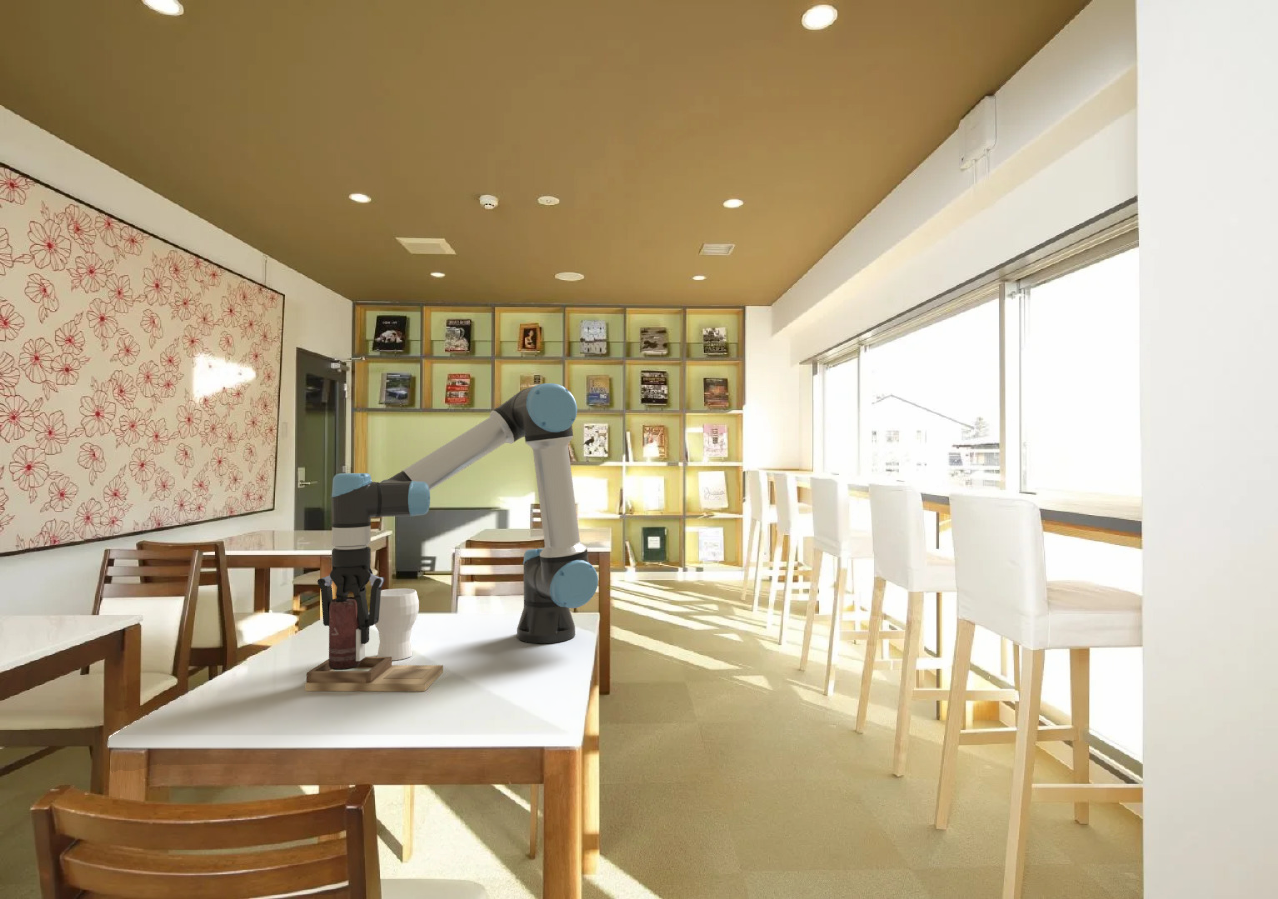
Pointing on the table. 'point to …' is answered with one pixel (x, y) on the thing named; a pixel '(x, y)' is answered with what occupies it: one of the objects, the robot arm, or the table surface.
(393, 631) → the cup
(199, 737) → the table surface
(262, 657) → the table surface
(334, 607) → the can
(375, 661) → the holder board
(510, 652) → the table surface
